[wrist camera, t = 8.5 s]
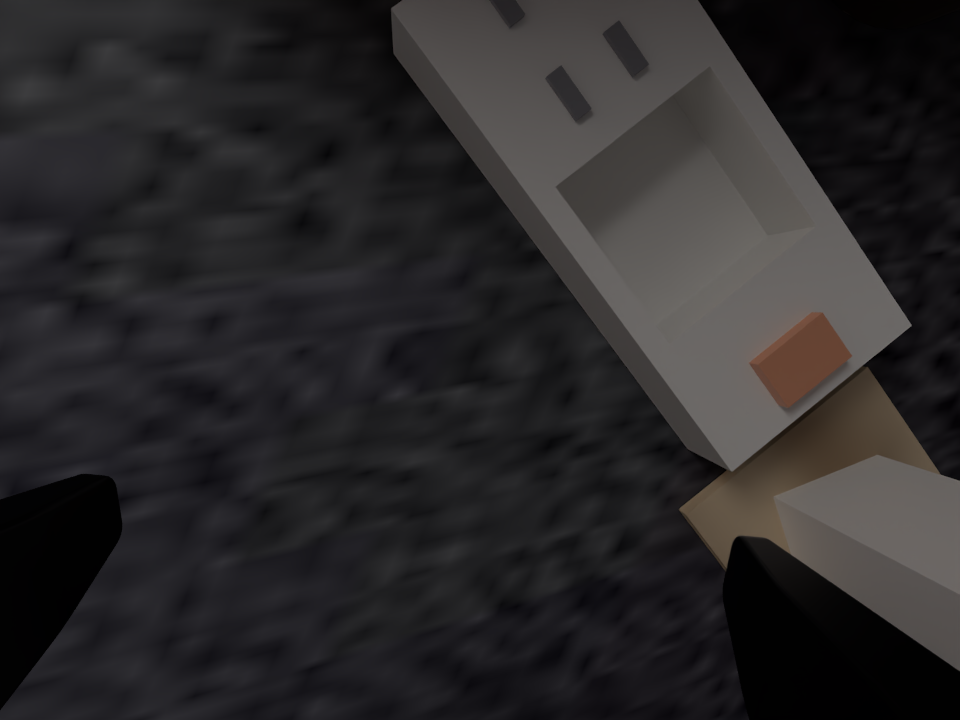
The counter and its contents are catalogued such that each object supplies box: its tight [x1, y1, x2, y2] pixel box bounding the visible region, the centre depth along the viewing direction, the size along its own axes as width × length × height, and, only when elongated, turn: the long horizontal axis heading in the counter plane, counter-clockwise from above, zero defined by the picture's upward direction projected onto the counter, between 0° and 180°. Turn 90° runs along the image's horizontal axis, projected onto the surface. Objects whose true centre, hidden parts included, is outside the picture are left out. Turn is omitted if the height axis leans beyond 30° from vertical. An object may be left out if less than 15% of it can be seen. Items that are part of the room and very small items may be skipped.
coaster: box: [679, 366, 941, 571], centre depth 22 cm, size 8×8×1 cm
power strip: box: [391, 0, 912, 472], centre depth 19 cm, size 7×16×4 cm, turn 38°
